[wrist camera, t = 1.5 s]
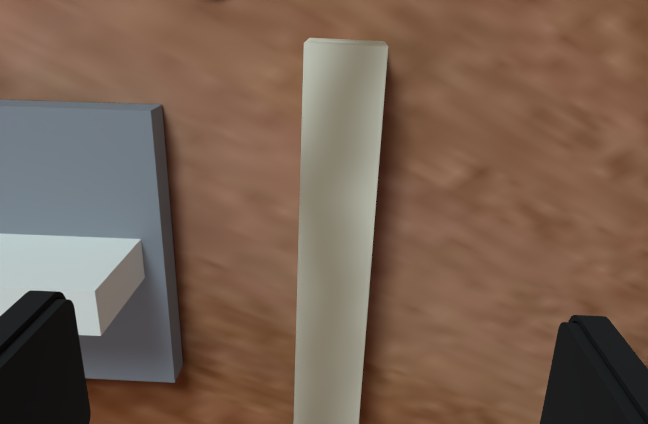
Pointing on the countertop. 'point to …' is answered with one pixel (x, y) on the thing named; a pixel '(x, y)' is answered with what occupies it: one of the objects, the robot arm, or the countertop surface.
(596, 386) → the robot arm
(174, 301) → the stand
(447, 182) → the countertop surface
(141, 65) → the countertop surface
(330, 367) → the birch beam
